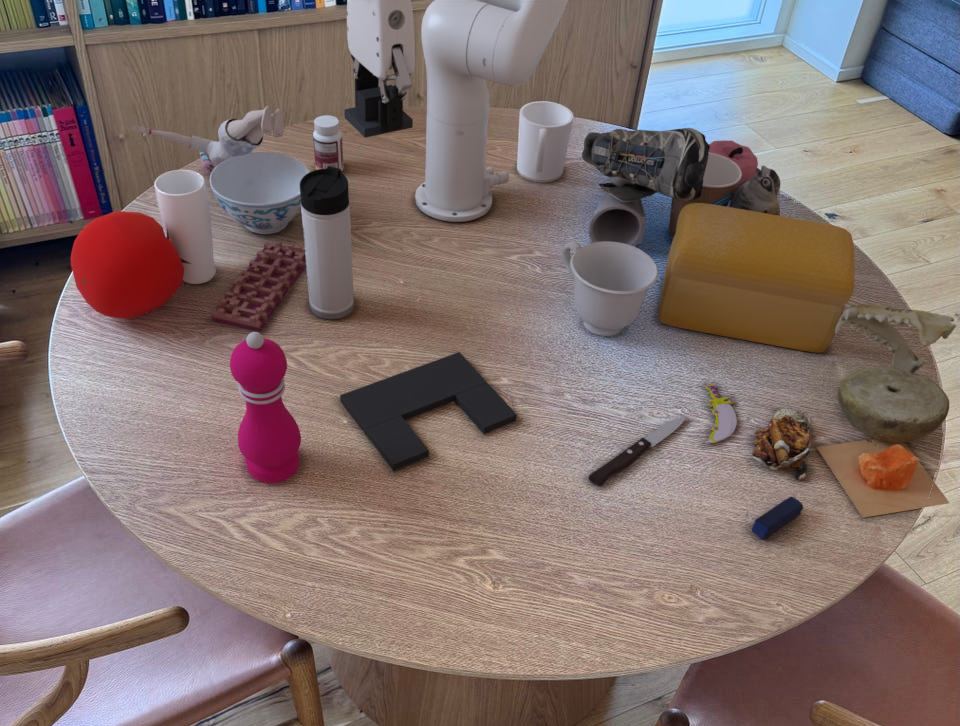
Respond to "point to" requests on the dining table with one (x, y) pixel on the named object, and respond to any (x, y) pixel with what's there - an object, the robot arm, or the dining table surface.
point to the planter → (618, 219)
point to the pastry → (784, 442)
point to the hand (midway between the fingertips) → (378, 117)
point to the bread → (757, 277)
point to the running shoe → (649, 162)
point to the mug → (543, 140)
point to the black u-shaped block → (423, 406)
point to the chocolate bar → (261, 287)
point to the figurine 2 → (758, 193)
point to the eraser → (777, 517)
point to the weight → (892, 404)
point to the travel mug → (327, 242)
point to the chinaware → (259, 189)
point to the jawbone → (887, 334)
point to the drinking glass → (188, 221)
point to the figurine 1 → (229, 136)
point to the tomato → (126, 265)
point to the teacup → (608, 283)
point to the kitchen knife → (634, 452)
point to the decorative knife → (721, 416)
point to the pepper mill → (265, 410)
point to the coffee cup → (710, 187)
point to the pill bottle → (327, 143)
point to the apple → (737, 157)
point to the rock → (881, 476)
